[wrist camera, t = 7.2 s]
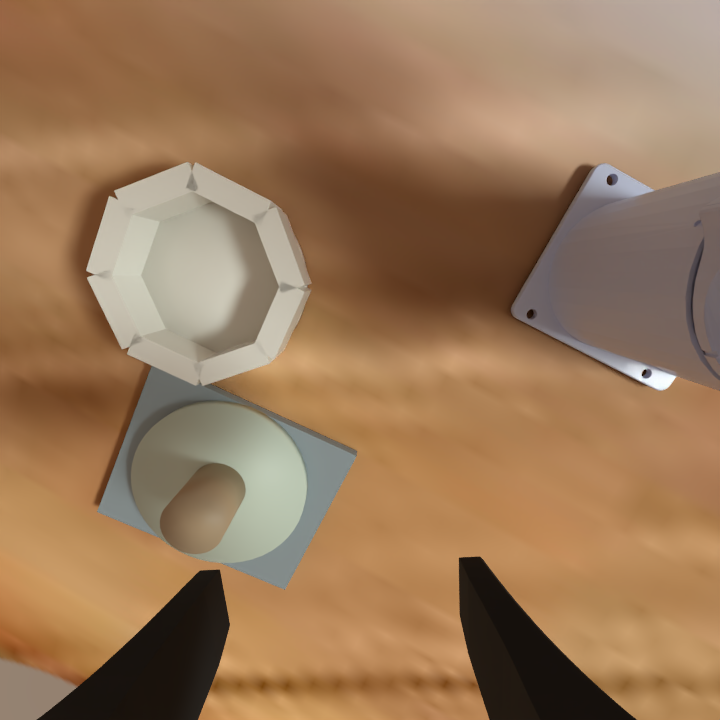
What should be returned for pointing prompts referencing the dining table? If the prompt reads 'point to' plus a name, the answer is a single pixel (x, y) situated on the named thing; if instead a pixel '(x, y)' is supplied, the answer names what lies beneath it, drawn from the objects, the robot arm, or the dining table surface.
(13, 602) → the dining table surface
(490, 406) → the dining table surface
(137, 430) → the mat
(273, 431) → the cover
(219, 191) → the octagonal storage bin
